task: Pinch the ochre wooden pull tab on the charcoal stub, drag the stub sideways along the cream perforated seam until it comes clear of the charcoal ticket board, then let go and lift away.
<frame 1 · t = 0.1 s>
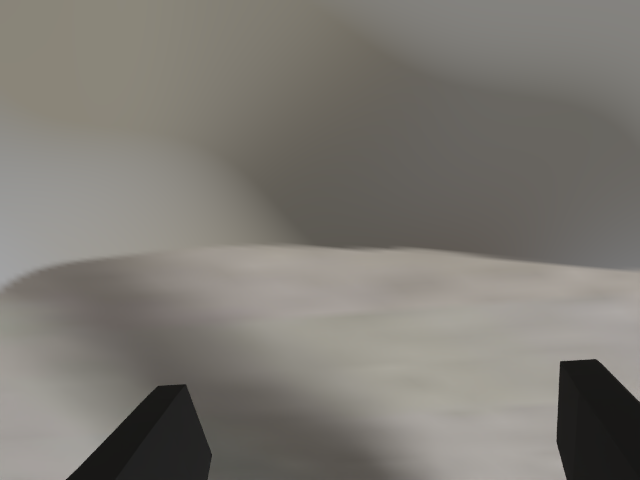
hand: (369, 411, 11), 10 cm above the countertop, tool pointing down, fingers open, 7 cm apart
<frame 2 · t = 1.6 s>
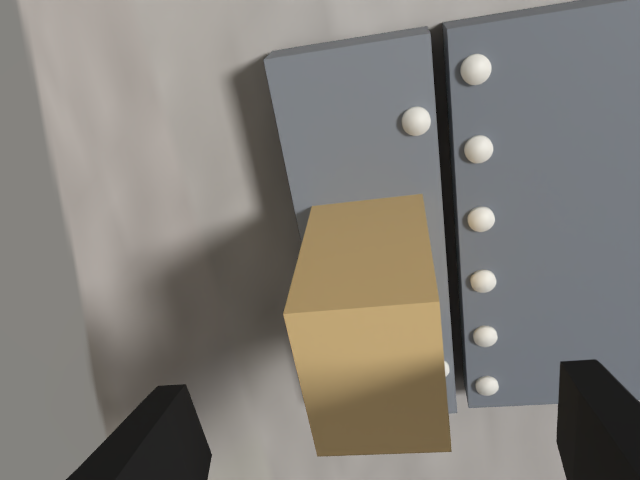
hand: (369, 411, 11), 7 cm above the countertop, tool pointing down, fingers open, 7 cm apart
stub: (374, 301, 14), point 3 cm above the countertop, slide at 0.0 cm
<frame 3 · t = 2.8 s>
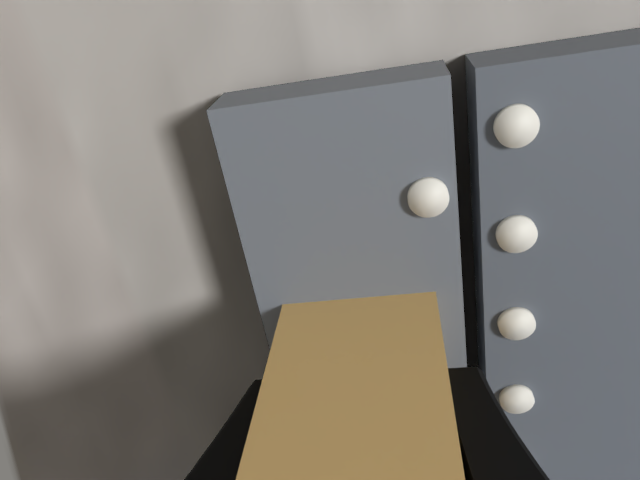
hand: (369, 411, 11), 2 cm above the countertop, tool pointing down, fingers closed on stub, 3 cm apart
stub: (368, 449, 10), point 3 cm above the countertop, slide at 0.0 cm, touching gripper
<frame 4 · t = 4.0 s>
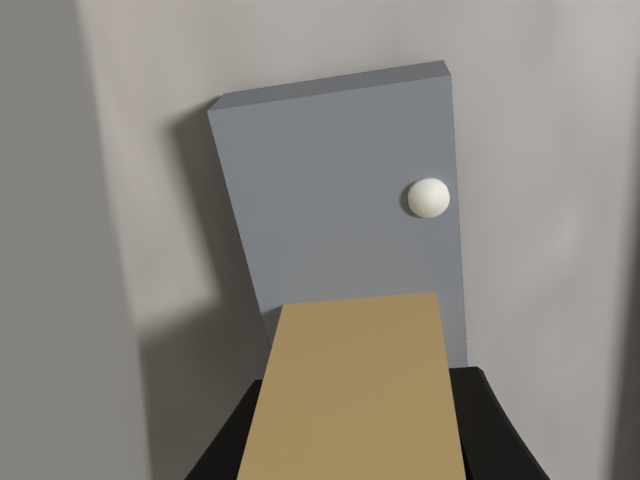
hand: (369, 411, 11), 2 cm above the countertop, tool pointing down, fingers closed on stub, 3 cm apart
stub: (369, 449, 10), point 3 cm above the countertop, slide at 4.3 cm, touching gripper
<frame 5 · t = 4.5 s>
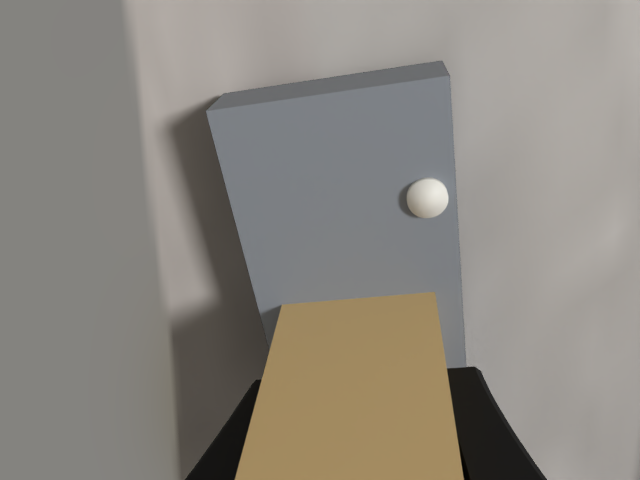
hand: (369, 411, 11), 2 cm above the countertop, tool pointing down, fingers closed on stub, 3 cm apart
stub: (367, 449, 10), point 3 cm above the countertop, slide at 5.2 cm, touching gripper
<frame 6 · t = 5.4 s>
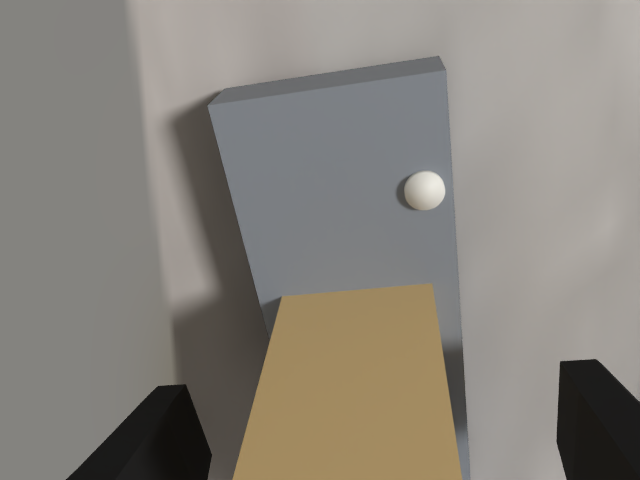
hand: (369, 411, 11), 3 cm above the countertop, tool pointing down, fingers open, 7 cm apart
stub: (366, 437, 10), point 3 cm above the countertop, slide at 5.2 cm
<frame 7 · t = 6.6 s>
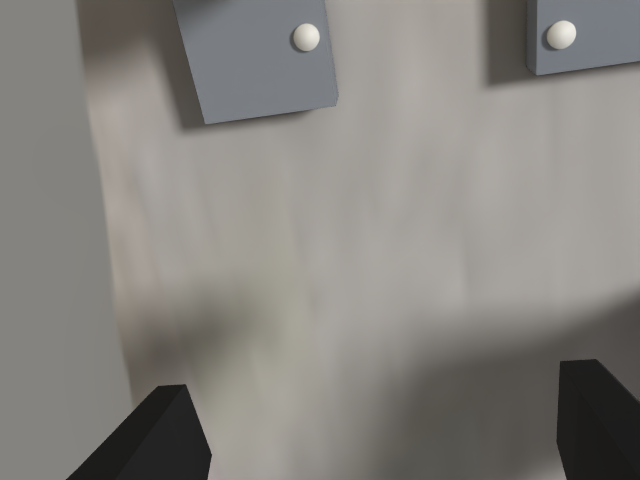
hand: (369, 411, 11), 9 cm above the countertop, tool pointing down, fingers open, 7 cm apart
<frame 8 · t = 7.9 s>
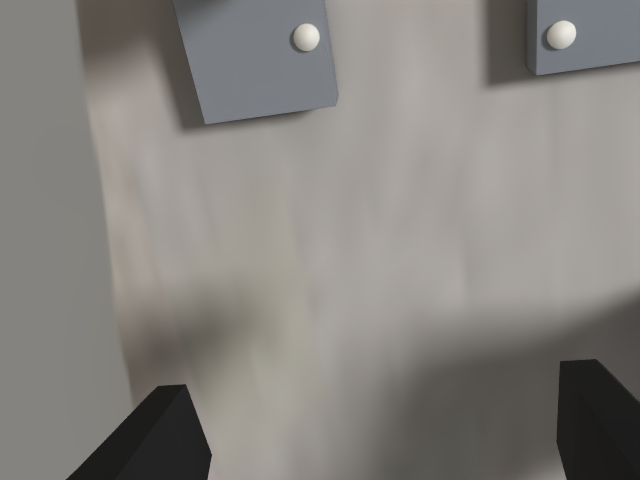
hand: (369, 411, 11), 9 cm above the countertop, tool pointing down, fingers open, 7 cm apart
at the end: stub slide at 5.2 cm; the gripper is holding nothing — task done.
